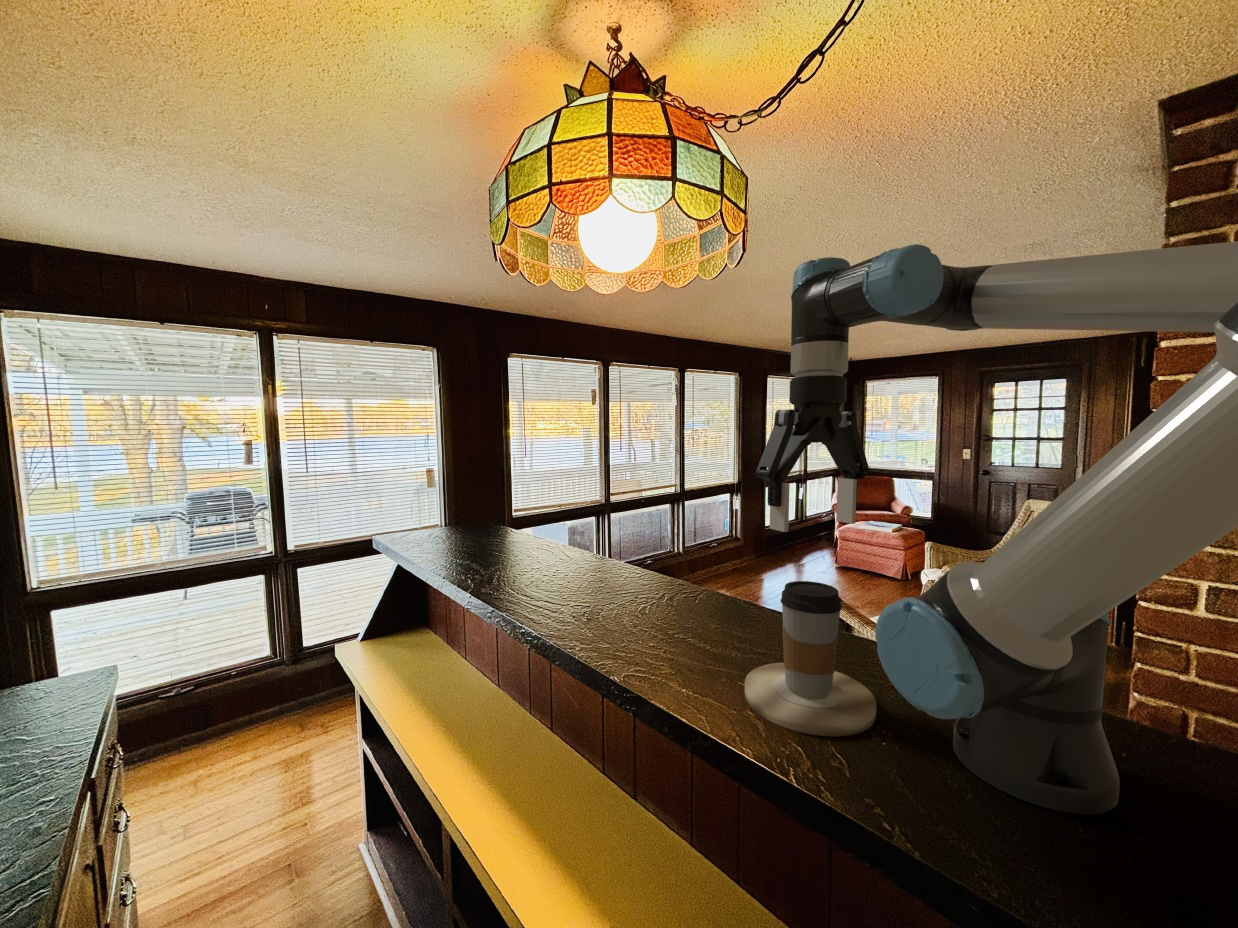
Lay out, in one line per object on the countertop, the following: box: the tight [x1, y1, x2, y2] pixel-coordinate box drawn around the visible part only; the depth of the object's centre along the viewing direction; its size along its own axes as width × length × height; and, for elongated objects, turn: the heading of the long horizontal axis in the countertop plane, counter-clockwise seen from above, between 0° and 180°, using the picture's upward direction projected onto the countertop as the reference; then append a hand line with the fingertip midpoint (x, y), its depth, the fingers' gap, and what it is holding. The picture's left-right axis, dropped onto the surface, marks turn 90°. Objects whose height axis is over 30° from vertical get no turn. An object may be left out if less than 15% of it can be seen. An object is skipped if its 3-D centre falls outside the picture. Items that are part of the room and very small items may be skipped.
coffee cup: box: [780, 580, 843, 699], centre depth 75 cm, size 8×8×15 cm
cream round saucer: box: [744, 662, 877, 737], centre depth 76 cm, size 18×18×2 cm
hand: (813, 526), depth 74 cm, fingers open, 13 cm apart
